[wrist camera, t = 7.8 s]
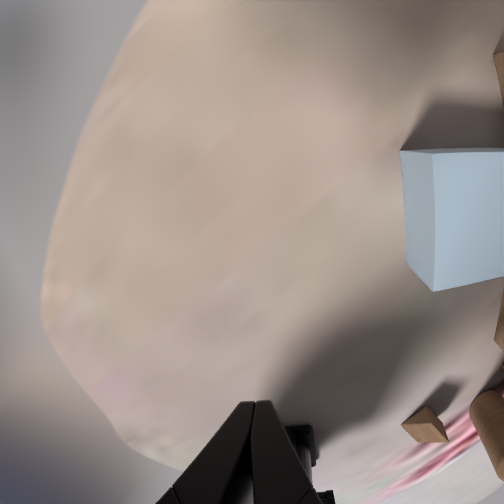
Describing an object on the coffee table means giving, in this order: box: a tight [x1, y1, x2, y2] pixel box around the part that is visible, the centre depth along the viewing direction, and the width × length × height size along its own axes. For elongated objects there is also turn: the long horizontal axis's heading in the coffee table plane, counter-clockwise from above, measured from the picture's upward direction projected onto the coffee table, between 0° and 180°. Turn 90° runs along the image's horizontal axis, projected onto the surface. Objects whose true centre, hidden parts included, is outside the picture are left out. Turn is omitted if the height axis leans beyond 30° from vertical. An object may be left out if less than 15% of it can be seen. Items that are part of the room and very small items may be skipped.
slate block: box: [400, 148, 504, 292], centre depth 15 cm, size 7×9×4 cm
